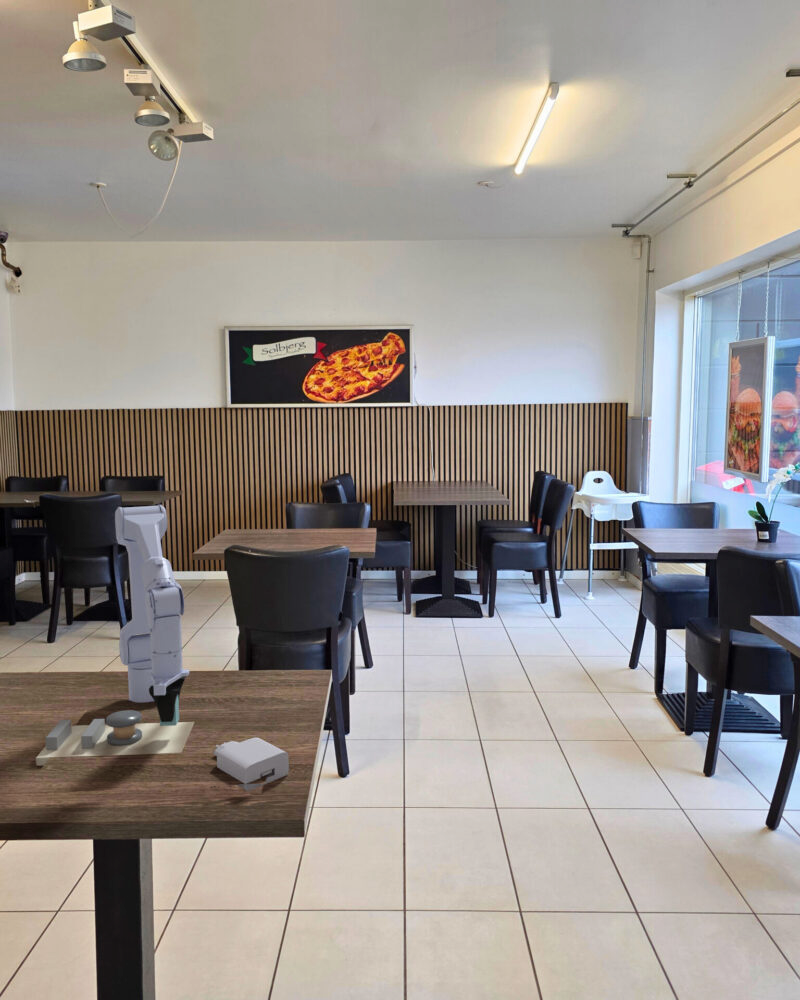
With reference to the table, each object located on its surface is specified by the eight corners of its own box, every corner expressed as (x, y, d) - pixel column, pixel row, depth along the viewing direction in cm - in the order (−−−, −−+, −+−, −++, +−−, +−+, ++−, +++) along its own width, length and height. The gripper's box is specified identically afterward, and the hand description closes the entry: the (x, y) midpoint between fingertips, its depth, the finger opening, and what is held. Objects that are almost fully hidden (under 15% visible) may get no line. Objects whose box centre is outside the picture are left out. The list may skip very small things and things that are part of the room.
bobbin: (145, 731, 154) (144, 709, 153) (137, 745, 148) (136, 723, 147) (112, 732, 153) (111, 710, 153) (102, 746, 147) (101, 724, 146)
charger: (241, 749, 150) (289, 775, 140) (198, 764, 143) (245, 793, 133) (240, 725, 149) (288, 750, 139) (198, 740, 143) (245, 767, 132)
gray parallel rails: (105, 730, 154) (104, 718, 154) (92, 748, 146) (92, 735, 146) (61, 732, 153) (60, 720, 153) (46, 750, 145) (45, 737, 145)
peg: (179, 719, 152) (178, 694, 152) (176, 725, 150) (175, 700, 149) (163, 719, 152) (162, 694, 152) (160, 725, 149) (159, 700, 149)
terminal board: (194, 728, 159) (194, 721, 158) (181, 760, 145) (181, 752, 145) (62, 733, 156) (62, 726, 156) (36, 765, 143) (35, 757, 142)
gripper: (180, 661, 142) (183, 732, 144) (194, 637, 156) (196, 702, 158) (140, 662, 142) (143, 733, 143) (158, 638, 156) (161, 703, 158)
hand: (169, 717), depth 151 cm, fingers closed on peg, 3 cm apart
